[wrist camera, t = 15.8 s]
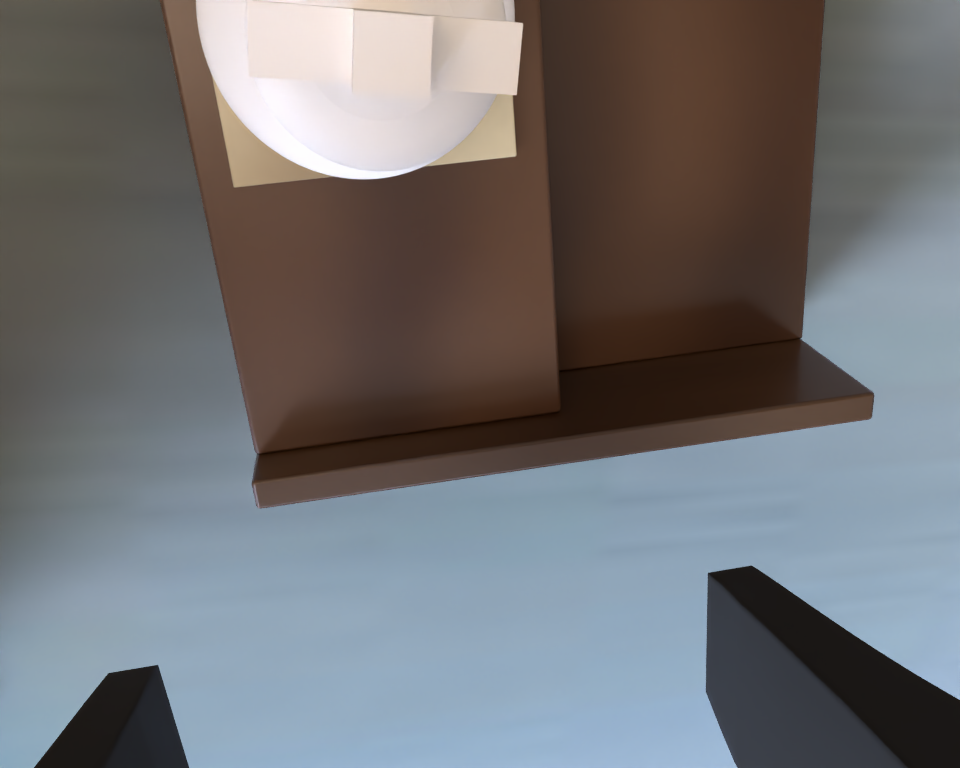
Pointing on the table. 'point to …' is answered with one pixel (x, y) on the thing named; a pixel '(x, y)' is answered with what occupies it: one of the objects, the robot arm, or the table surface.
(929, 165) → the table surface
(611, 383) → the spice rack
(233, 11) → the chess piece
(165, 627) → the table surface
